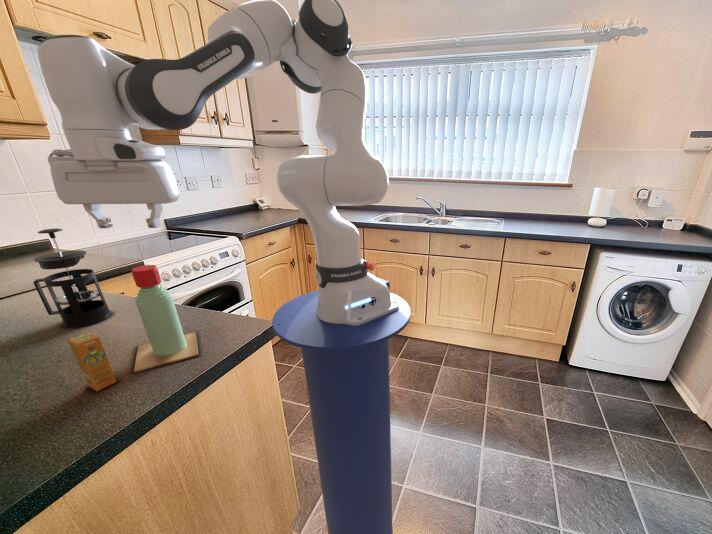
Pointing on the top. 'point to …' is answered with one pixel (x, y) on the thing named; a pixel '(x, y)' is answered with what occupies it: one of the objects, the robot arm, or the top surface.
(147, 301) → the sauce bottle
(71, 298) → the french press
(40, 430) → the top surface
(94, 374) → the supplement box
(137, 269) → the red cap
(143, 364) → the cork coaster
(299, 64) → the robot arm
